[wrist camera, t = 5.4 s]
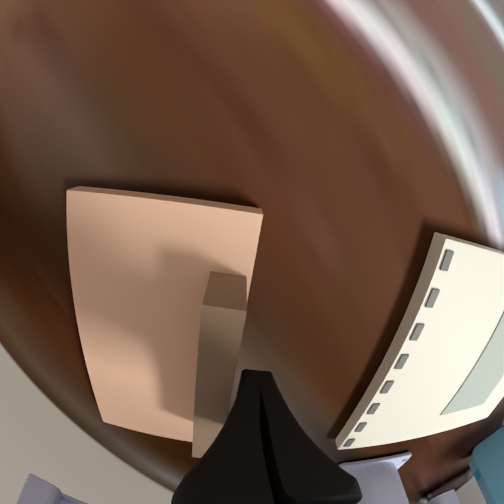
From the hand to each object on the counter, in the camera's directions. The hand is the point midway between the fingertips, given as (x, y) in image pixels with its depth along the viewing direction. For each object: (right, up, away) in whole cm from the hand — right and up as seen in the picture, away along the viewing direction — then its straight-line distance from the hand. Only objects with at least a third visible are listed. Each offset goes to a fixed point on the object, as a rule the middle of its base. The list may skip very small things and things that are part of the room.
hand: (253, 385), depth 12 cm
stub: (-5, +1, +1) cm, 5 cm away
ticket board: (+16, -2, +3) cm, 17 cm away
